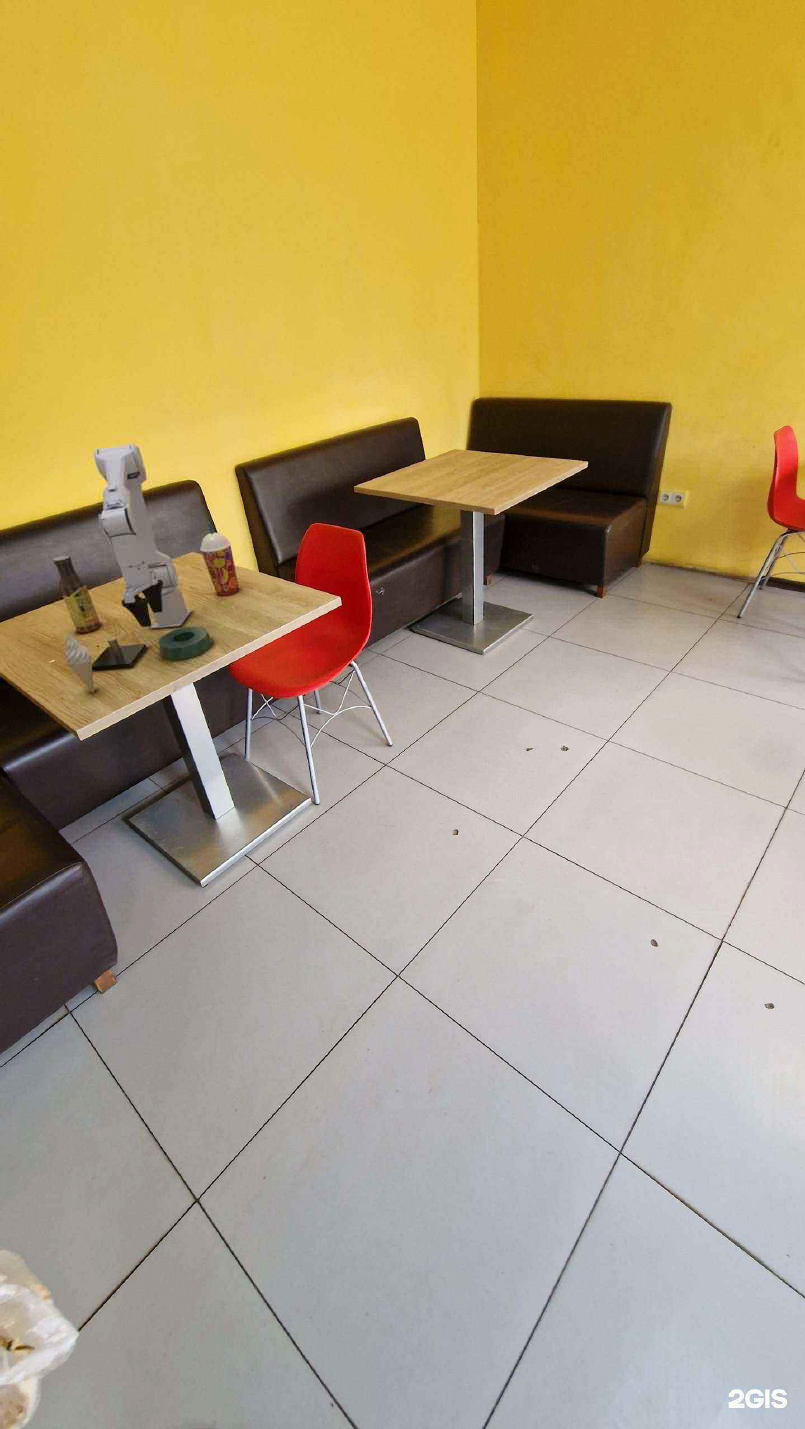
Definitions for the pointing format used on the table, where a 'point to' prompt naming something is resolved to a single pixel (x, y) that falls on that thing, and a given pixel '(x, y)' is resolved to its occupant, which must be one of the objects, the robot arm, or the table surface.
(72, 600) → the sauce bottle
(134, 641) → the table surface
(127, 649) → the peg stand
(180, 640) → the ring
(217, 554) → the smoothie
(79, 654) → the ice cream cone
